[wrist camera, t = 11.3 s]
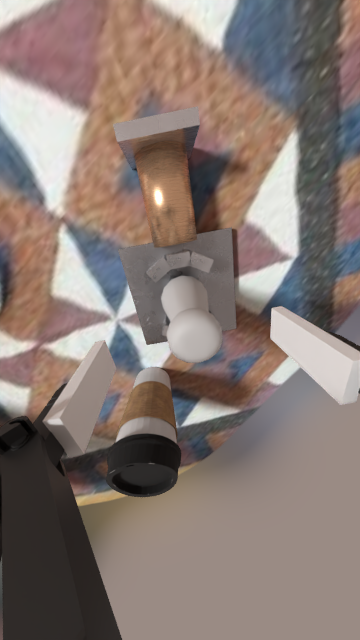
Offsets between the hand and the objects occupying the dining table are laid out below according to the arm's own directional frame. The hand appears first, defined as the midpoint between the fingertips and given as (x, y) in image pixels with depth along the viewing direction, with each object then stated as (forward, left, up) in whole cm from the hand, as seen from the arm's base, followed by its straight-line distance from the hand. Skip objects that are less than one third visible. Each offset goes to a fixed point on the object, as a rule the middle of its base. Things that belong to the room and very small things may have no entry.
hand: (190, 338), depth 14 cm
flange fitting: (0, +4, -13) cm, 13 cm away
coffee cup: (-8, -15, -13) cm, 21 cm away
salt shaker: (0, 0, -12) cm, 12 cm away
